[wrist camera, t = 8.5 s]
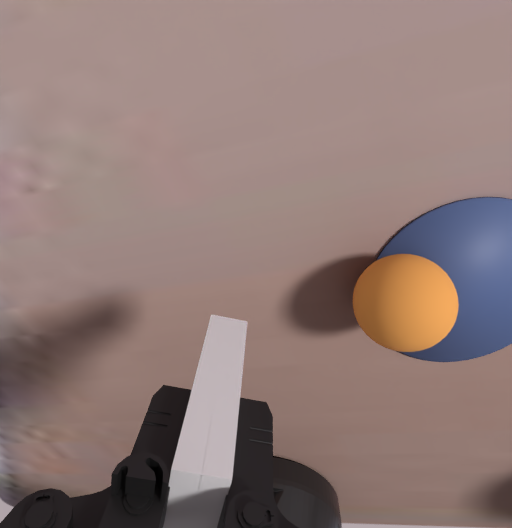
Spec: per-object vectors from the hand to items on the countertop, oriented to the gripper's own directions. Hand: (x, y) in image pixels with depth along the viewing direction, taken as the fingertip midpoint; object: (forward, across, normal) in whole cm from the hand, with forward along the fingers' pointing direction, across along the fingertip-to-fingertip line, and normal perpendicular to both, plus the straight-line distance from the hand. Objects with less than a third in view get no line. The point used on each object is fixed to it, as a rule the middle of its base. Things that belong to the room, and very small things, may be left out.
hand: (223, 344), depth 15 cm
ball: (+6, -10, -1) cm, 11 cm away
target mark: (+8, -14, -1) cm, 17 cm away
